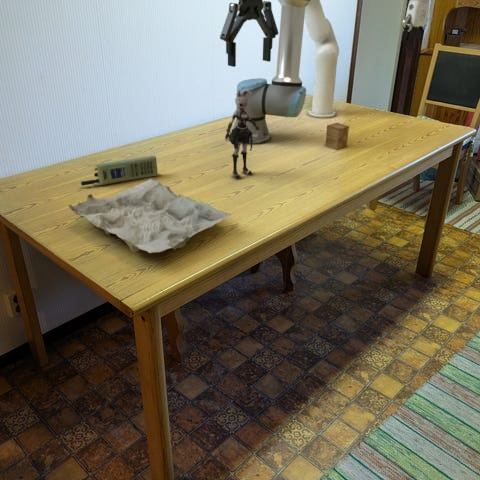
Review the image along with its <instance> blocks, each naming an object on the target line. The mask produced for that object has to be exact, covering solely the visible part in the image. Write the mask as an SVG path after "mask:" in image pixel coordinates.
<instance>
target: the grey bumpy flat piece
mask: <svg viewBox="0 0 480 480" xmlns="http://www.w3.org/2000/svg"><path fill="white" fill-rule="evenodd" d="M68 208H69V209H70V210H71V211H72V213H74V214H75V215H78V216H79V218H80V219H83V218H85V219H86V220H87V221H89V222H91V223H92V224H93V225H94V226H95V227H96V228H98V229H101V230H103V231H104V232H105V233H106V234H107V235H108V236H110V235H111V234H113V235H116V236H117V237H118V238H120V239H121V240H123V241H124V243H125V244H127V246H128V248H129V249H130V251H131V252H132V253H133V252H134V253H136V252H139V251H141V250H142V251H145V252H147V253H149V254H152V253H162V252H164V251H166V250H169V249H173V250H177V249H178V248H181V249H182V248H184V247H185V245H186V243H187V242H188V241H190V239H191V238H192V237H193V236H194V235H196V234H199V233H200V232H202V231H204V230H206V229H208V228H213V226H215V224H219V222H222V221H223V220H224V219H226V218H229V217H230V216H232V213H227V212H226V211H225V212H224V211H222V210H219V209H216V208H214V207H213V206H212V205H211V204H210V203H205V202H204V201H196V200H194V199H192V198H189V196H184V195H181V194H178V195H177V194H175V193H174V192H173V190H172V189H171V188H170V186H167V185H163V184H162V183H161V182H160V181H159V180H156V179H153V178H149V179H147V180H145V181H143V182H141V183H139V184H136V185H134V186H133V187H130V188H129V189H125V190H123V191H121V192H120V193H117V194H115V195H113V196H111V197H109V198H101V199H99V198H96V197H94V196H93V194H88V195H87V197H86V200H85V201H82V202H80V201H79V202H78V203H77V205H72V204H68Z"/></svg>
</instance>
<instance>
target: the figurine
mask: <svg viewBox="0 0 480 480" xmlns="http://www.w3.org/2000/svg"><path fill="white" fill-rule="evenodd" d="M243 88H244V86H243ZM243 88H241V89H239V90H237V89H236V93H237V95H236V96H235V99H234V102H235V106H236V108H237V107H239V108H238V110H237V109H236V110H234V112H233V115H232V117H231V120H230V122H229V123H228V125H227V128H226V129H225V131H226V134H225V135H224V140H225V142H226V143H228V142H230V143H231V145H232V146H233V153H232V154H231V157H232V164H233V170H232V177H233V178H234V179H240V178H241V175H240V174H239V173H238V171H237V168H238V167H237V166H238V165H237V163H238V158H239V152H240V148H241V149H242V150H241V152H240V155H242V157H241V158H242V161H243V165H242V166H243V167H242V173H244V174H246V175H252V172H251V170H249V168H248V167H247V154H248V150H247V149H248V145H250V148H249V151H250V152H251V151H252V149H253V145H255V144H254V143H253V144H252V142H253V140H252V138H253V136H252V134H253V133H252V132H251V131H250V130H249V129H248V126H247V125H246V121H247V120H249V122H250V123H252V124H253V125H254V126H255V128H256V131H257V132H258V133H260V129H259V128H258V126H257V125H256V122H255V121H253V120H252V118H250V116H249V114H248V112H247V110H246V109H245V108H246V107H247V101H248V99H247V97H246V94H247V92H248V93H249V94H250V95H252V93H251V91H250V90H248V89H246V90H244V91H243V93H242V95H240V91H241V90H242V89H243ZM236 118H237V121H238V122H239V123H238V125H237V126H236V127H235V128H234V127H233V123H234V122H235V121H236ZM232 127H233V128H234V129H233V128H232ZM249 139H250V144H249ZM241 142H242V143H241Z"/></svg>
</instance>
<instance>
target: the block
mask: <svg viewBox="0 0 480 480" xmlns="http://www.w3.org/2000/svg"><path fill="white" fill-rule="evenodd" d="M349 130H350V126H349V125H347V124H344V123H341V122H335V123H331V124H327V125H326V131H325V132H326V133H325V141H324V142H325V143H324V145H325V146H326V147H329V148H332V149H334V150H339V149H342V148H345V147H348V138H349V132H350V131H349Z"/></svg>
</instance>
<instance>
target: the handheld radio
mask: <svg viewBox="0 0 480 480" xmlns="http://www.w3.org/2000/svg"><path fill="white" fill-rule="evenodd" d="M157 164H158V163H157V156H156V155H147V156H141V157H140V156H139V157H134V158H127V159H121V160H115V161H108V162H101V163H96V164H93V167H94V168H93V171H97V172H95V173H94V174H93V175H94V177H96V179H90V180H83V181H82V180H81V181H80V185H81V186H88V185H93V184H94V185H96V186H97V187H98V186H99V187H100V186H105V185H109V184H115V183H121V182H128V181H134V180H139V179H144V178H151V177H156V176H158V175H159V174H158V165H157Z"/></svg>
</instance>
